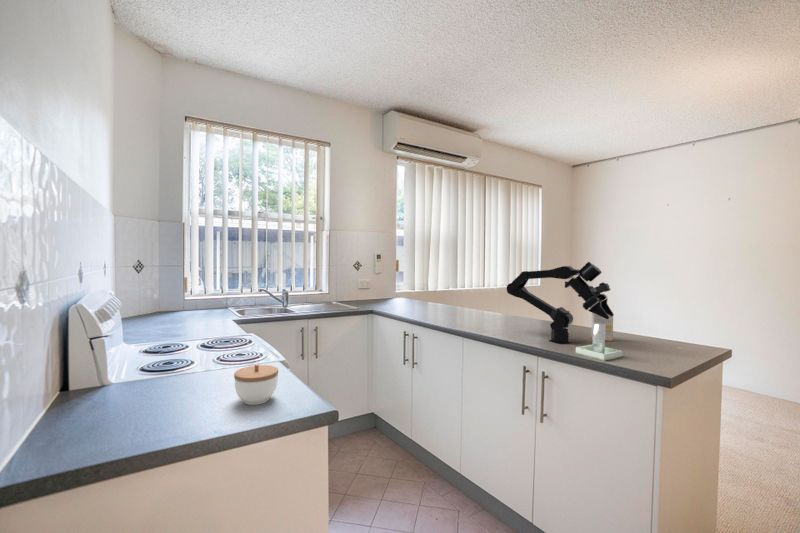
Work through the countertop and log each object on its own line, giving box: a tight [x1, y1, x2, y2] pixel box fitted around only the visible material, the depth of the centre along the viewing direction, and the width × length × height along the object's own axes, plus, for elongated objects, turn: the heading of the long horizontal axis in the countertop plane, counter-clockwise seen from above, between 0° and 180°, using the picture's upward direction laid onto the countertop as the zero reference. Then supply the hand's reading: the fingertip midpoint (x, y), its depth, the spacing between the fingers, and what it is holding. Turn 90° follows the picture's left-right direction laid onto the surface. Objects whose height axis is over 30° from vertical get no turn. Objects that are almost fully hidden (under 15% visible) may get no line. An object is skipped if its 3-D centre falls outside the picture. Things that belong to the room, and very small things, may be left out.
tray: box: [575, 344, 623, 362], centre depth 143 cm, size 12×12×2 cm
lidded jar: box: [233, 363, 279, 406], centre depth 96 cm, size 11×11×9 cm
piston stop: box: [591, 322, 606, 354], centre depth 143 cm, size 4×4×12 cm
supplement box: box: [591, 312, 614, 342], centre depth 170 cm, size 8×5×13 cm, turn 71°
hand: (610, 317), depth 152 cm, fingers open, 9 cm apart
